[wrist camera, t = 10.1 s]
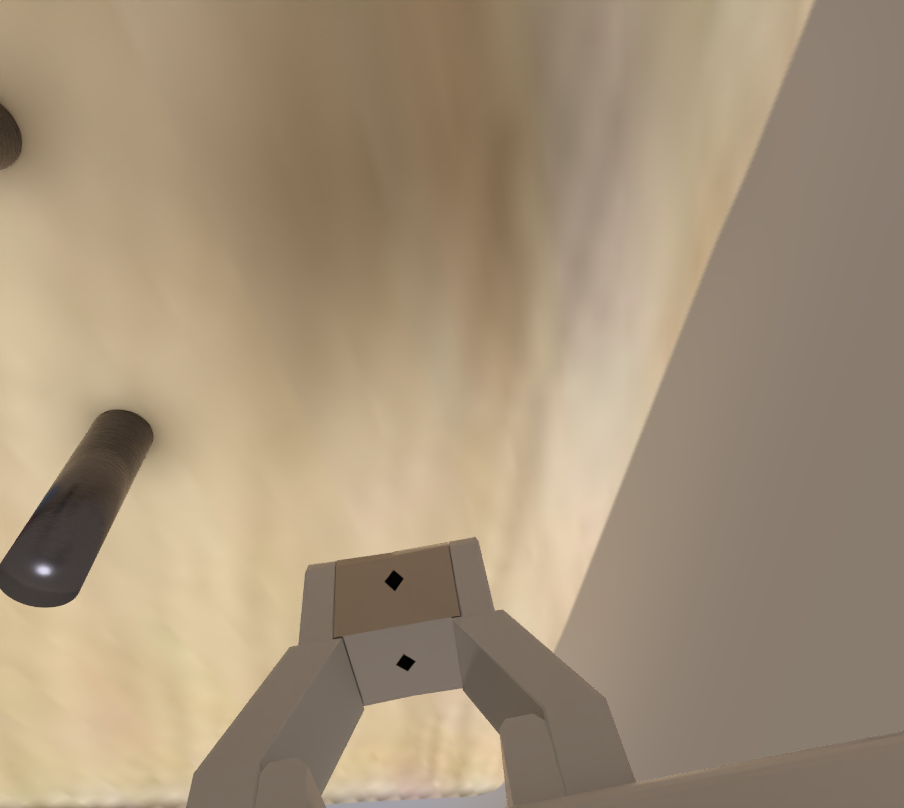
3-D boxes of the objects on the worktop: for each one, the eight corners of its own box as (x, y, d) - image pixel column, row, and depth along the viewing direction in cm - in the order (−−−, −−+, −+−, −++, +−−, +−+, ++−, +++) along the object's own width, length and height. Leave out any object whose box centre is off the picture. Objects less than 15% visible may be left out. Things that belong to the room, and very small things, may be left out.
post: (82, 415, 28) (-20, 561, 20) (140, 405, 28) (60, 548, 21) (105, 460, 29) (17, 613, 22) (161, 451, 30) (93, 600, 22)
